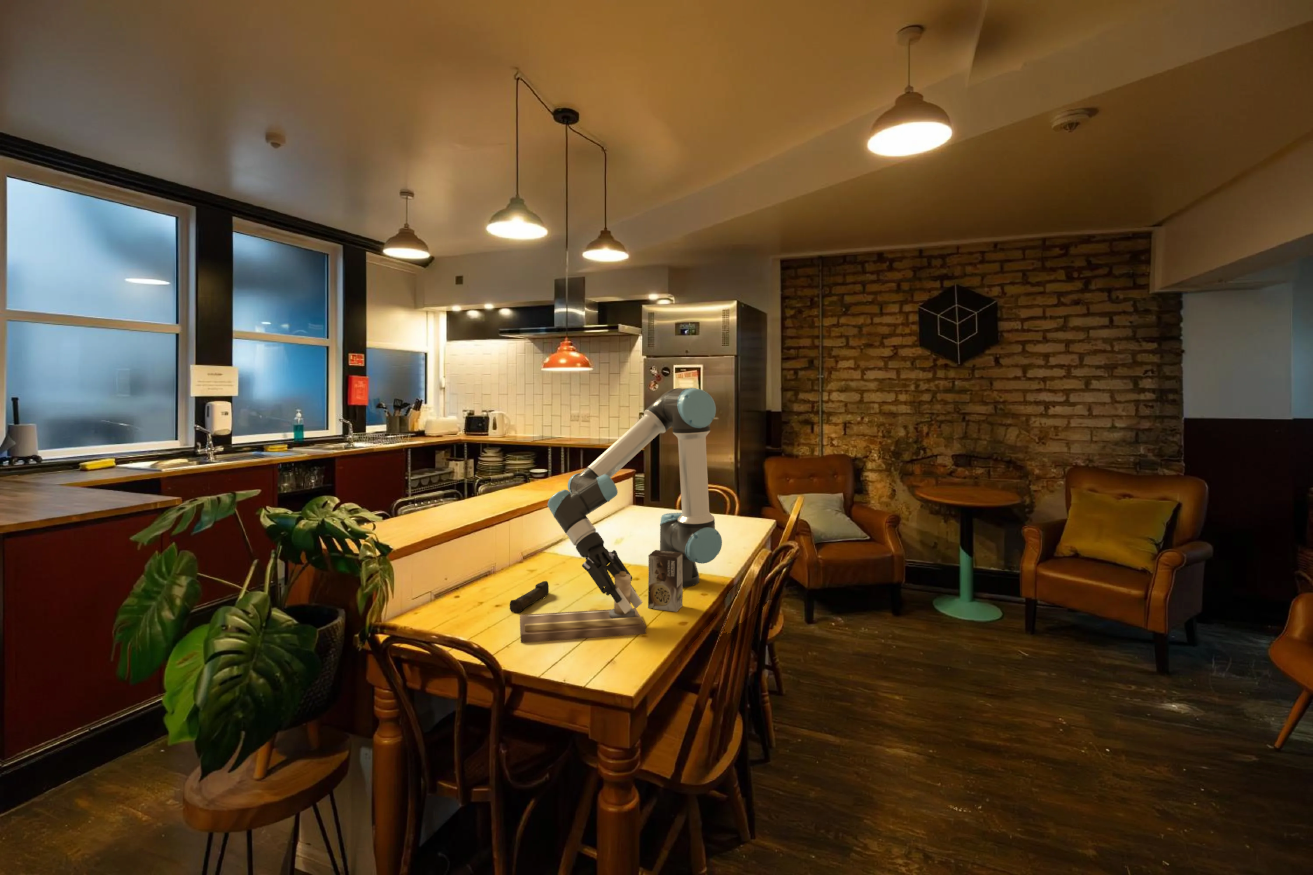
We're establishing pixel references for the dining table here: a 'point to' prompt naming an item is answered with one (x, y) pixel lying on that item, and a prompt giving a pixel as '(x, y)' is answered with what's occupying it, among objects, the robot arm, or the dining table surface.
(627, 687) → the dining table surface
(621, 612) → the peg with round base
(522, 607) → the hand tool
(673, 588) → the coffee box
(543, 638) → the walnut board
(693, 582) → the robot arm
